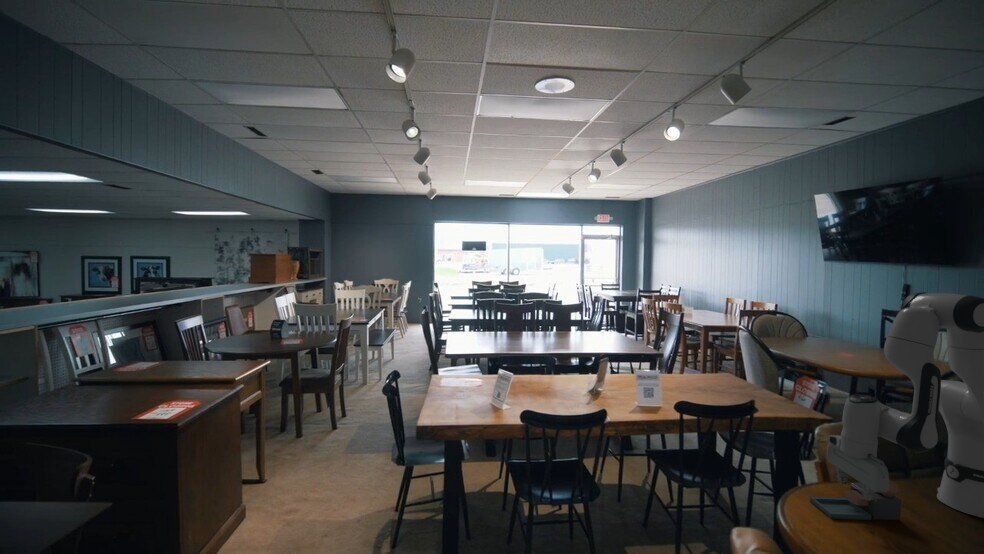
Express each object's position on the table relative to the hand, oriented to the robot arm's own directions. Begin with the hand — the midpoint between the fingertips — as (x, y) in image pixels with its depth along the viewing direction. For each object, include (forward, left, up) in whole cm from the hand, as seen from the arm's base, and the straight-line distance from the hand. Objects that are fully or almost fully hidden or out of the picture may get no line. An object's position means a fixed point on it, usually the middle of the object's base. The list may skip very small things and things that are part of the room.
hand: (853, 490), depth 138 cm
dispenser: (-7, 0, -6) cm, 9 cm away
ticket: (-4, 0, -3) cm, 5 cm away
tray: (+4, 0, -6) cm, 8 cm away
